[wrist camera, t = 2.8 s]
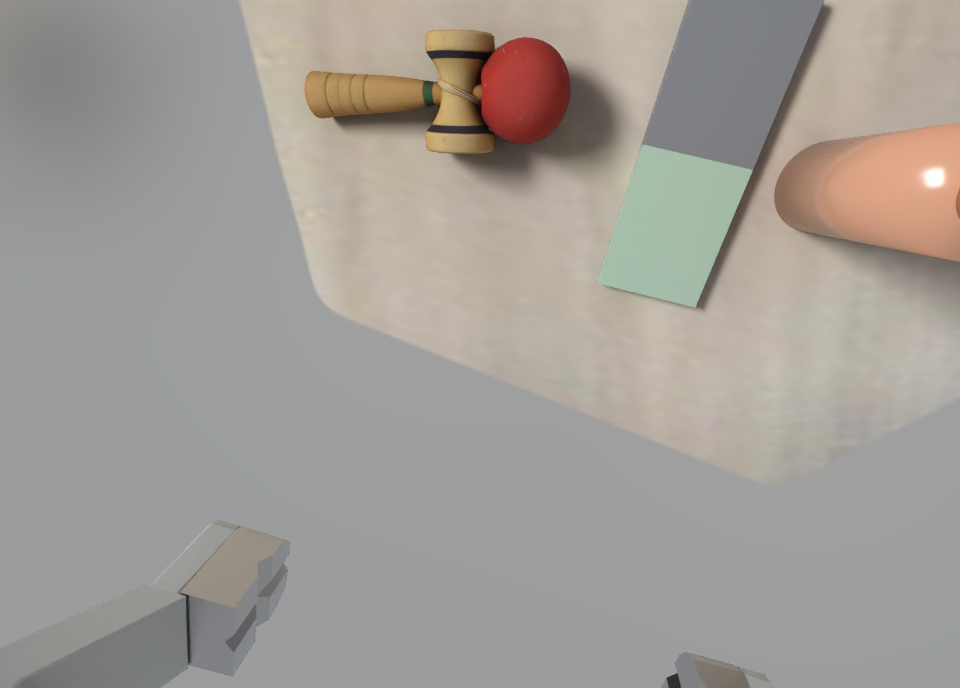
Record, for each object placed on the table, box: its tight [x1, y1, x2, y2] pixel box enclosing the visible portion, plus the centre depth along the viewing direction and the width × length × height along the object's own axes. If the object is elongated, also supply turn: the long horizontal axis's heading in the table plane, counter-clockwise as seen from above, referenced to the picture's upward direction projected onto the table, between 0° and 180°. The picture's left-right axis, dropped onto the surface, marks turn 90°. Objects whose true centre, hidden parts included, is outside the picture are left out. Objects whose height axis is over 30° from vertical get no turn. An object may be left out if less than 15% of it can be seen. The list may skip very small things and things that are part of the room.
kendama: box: [304, 30, 570, 154], centre depth 30 cm, size 8×6×18 cm
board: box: [597, 0, 824, 308], centre depth 31 cm, size 20×8×1 cm, turn 167°
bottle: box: [774, 123, 960, 262], centre depth 24 cm, size 6×6×15 cm
